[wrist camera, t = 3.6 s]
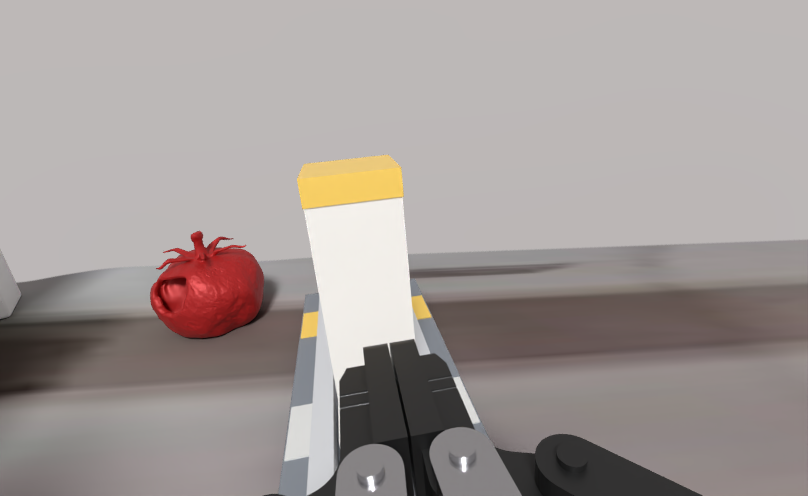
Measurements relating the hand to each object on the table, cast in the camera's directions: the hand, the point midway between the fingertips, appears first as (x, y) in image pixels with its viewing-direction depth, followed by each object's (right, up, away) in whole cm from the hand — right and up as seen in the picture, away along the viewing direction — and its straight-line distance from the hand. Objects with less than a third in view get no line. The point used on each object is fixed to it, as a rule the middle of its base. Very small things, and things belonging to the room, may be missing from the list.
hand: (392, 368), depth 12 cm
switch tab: (-1, -7, +11) cm, 13 cm away
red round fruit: (-18, -4, +28) cm, 34 cm away
